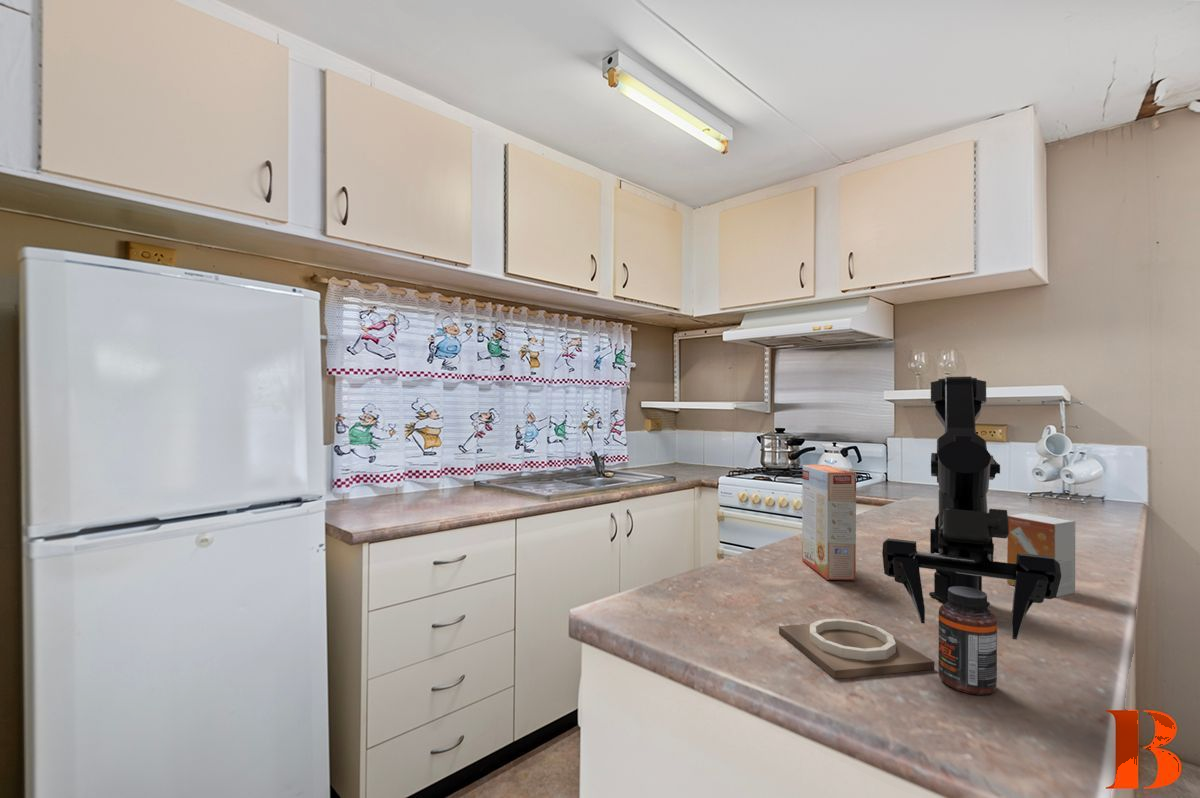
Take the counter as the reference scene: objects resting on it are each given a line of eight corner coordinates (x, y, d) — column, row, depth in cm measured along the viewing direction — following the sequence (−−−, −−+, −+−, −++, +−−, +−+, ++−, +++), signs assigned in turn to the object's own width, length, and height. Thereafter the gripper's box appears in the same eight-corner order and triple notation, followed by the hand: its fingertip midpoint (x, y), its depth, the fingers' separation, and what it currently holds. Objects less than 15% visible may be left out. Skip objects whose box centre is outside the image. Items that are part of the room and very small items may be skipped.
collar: (861, 624, 84) (861, 616, 84) (912, 656, 73) (912, 647, 73) (795, 629, 82) (795, 621, 82) (839, 663, 71) (838, 653, 71)
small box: (1006, 584, 106) (1006, 515, 106) (1027, 580, 108) (1027, 512, 108) (1055, 598, 98) (1055, 523, 98) (1076, 593, 101) (1076, 520, 101)
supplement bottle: (927, 673, 71) (927, 583, 71) (971, 671, 71) (971, 582, 71) (961, 698, 65) (961, 600, 65) (1009, 696, 65) (1009, 598, 65)
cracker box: (858, 581, 107) (858, 471, 107) (826, 581, 107) (826, 471, 107) (829, 560, 121) (829, 463, 121) (801, 560, 121) (800, 463, 121)
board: (864, 626, 86) (864, 619, 86) (934, 669, 72) (934, 661, 72) (778, 632, 83) (778, 626, 83) (834, 678, 69) (834, 670, 69)
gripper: (883, 478, 77) (876, 581, 67) (1058, 489, 67) (1078, 611, 58) (887, 526, 83) (881, 625, 74) (1047, 542, 74) (1063, 659, 64)
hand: (967, 629), depth 67 cm, fingers open, 9 cm apart
